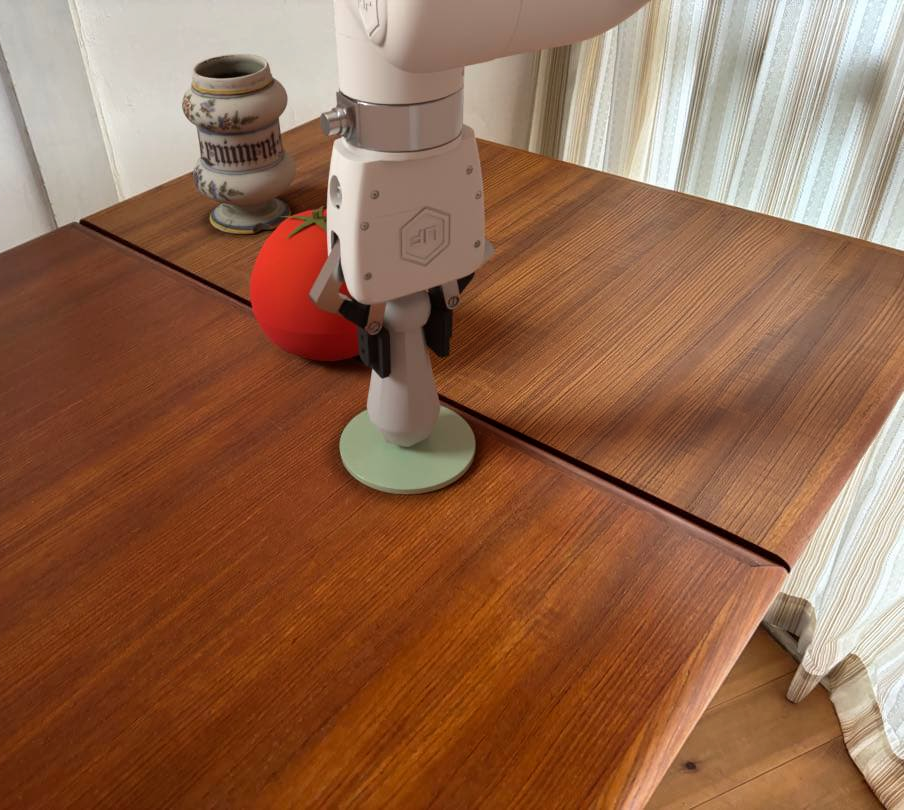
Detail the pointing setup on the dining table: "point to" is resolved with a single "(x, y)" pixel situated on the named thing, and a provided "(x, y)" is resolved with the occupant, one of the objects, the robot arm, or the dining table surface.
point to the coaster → (408, 455)
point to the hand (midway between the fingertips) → (406, 356)
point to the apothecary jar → (240, 142)
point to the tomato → (299, 292)
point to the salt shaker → (405, 376)
